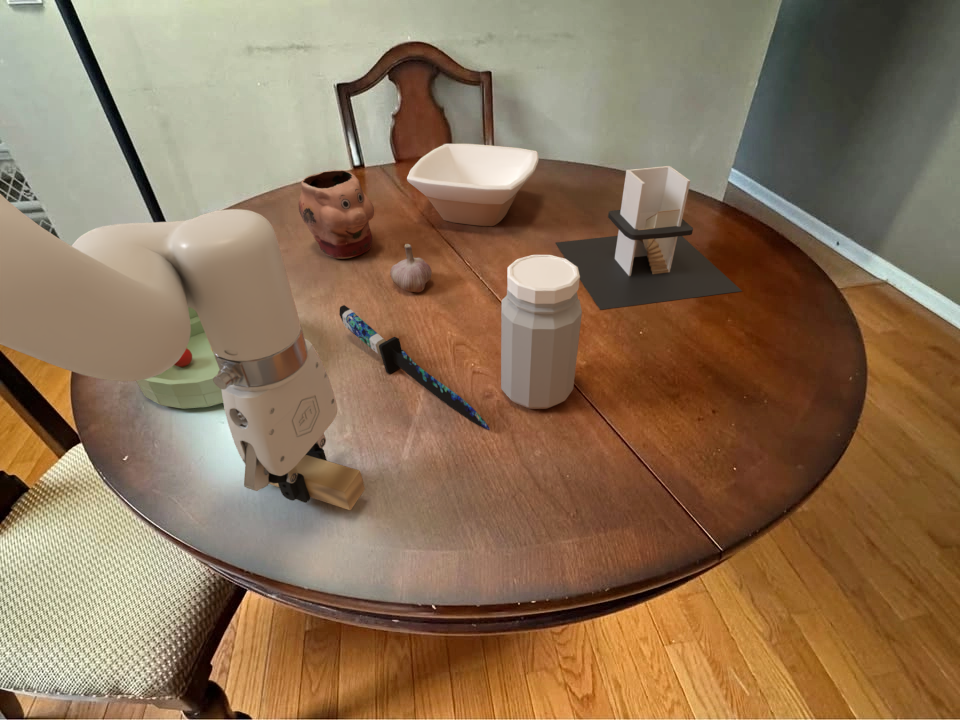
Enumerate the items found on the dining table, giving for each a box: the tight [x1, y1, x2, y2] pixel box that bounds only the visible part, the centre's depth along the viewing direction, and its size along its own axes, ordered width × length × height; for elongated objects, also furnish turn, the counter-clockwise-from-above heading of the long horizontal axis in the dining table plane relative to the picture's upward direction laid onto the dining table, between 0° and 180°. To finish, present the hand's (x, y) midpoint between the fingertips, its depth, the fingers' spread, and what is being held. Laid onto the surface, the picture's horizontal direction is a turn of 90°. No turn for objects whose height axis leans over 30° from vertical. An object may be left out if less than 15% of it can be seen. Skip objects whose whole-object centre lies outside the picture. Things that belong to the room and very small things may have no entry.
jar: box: [500, 254, 583, 410], centre depth 69 cm, size 10×10×18 cm
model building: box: [554, 165, 743, 310], centre depth 95 cm, size 25×24×16 cm
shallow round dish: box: [135, 307, 224, 409], centre depth 79 cm, size 21×21×5 cm
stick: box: [269, 455, 366, 511], centre depth 60 cm, size 13×3×3 cm, turn 68°
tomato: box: [174, 348, 192, 367], centre depth 78 cm, size 3×3×3 cm
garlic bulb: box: [389, 243, 433, 293], centre depth 94 cm, size 8×7×8 cm
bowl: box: [406, 143, 540, 227], centre depth 116 cm, size 24×25×11 cm
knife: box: [339, 304, 491, 431], centre depth 75 cm, size 31×3×4 cm, turn 42°
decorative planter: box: [298, 169, 375, 260], centre depth 104 cm, size 20×12×14 cm, turn 48°
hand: (307, 483), depth 61 cm, fingers closed on stick, 3 cm apart
